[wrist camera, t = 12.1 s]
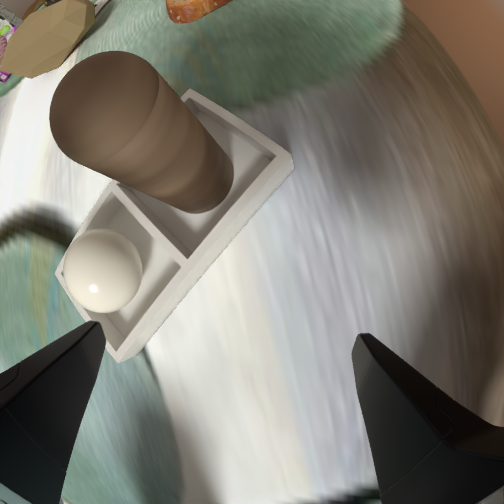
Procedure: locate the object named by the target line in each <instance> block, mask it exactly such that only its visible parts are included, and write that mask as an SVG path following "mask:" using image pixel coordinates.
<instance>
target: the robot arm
mask: <svg viewBox="0 0 504 504" xmlns="http://www.w3.org/2000/svg"><path fill="white" fill-rule="evenodd" d="M105 346H106V337H105V334H104V331H103V328H102V325H101V323H100V322H98V321H93V320H89V321H87V322H86V323H84V324H82V325H81V326H79V327H77V328H76V329H74V330H72V331H70V332H69V333H67V334H65V335H64V336H62V337H60V338H59V339H57V340H55V341H54V342H52V343H50V344H49V345H47V346H45V347H44V348H42V349H40V350H39V351H37V352H35V353H34V354H32V355H31V356H29V357H27V358H26V359H24V360H22V361H21V362H19V363H17V364H16V365H14V366H13V367H11V368H9V369H8V370H6V371H4V372H2V373H0V504H59V501H60V497H61V492H62V488H63V484H64V480H65V476H66V471H67V468H68V464H69V461H70V457H71V454H72V450H73V447H74V443H75V440H76V437H77V434H78V431H79V427H80V424H81V421H82V418H83V415H84V412H85V409H86V407H87V404H88V401H89V398H90V395H91V393H92V390H93V387H94V385H95V382H96V379H97V375H98V372H99V368H100V364H101V361H102V357H103V353H104V350H105ZM352 362H353V368H354V375H355V382H356V389H357V394H358V399H359V403H360V406H361V410H362V414H363V418H364V422H365V426H366V431H367V435H368V439H369V443H370V448H371V452H372V457H373V461H374V466H375V471H376V476H377V481H378V486H379V491H380V494H381V495H380V497H381V502H382V504H504V427H499V426H495V425H492V424H490V423H488V422H486V421H485V420H483V419H482V418H480V417H479V416H477V415H476V414H474V413H473V412H471V411H469V410H468V409H466V408H465V407H463V406H462V405H460V404H459V403H458V402H456V401H455V400H453V399H452V398H451V397H449V396H448V395H447V394H445V393H444V392H443V391H442V390H440V389H439V388H438V387H436V386H435V385H434V384H433V383H432V382H430V381H429V380H428V379H427V378H425V377H424V376H423V375H422V374H420V373H419V372H418V371H417V370H415V369H414V368H413V367H412V366H410V365H409V364H408V363H407V362H405V361H404V360H403V359H402V358H400V357H399V356H398V355H397V354H395V353H394V352H393V351H391V350H390V349H389V348H388V347H386V346H385V345H384V344H383V343H381V342H380V341H379V340H378V339H376V338H375V337H374V336H373V335H371V334H370V333H360V334H358V335H357V337H356V341H355V344H354V347H353V350H352Z"/></svg>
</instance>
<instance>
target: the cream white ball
mask: <svg viewBox="0 0 504 504" xmlns="http://www.w3.org/2000/svg"><path fill="white" fill-rule="evenodd" d="M63 275H64V280H65V284H66V287H67V289H68V291H69V293H70V294H71V296H72V297H73V299H74V300H75V301H76V302H77V303H78V304H80V305H81V306H82V307H84V308H86V309H88V310H90V311H93V312H98V313H110V312H114V311H117V310H119V309H121V308H123V307H125V306H126V305H127V304H128V303H129V302H131V301H132V299H133V298H134V297H135V295H136V294H137V292H138V290H139V288H140V285H141V281H142V262H141V258H140V255H139V253H138V251H137V249H136V247H135V246H134V244H133V243H132V242H131V241H130V240H129V239H128V238H127V237H126V236H125V235H123V234H121V233H120V232H118V231H115V230H112V229H106V228H98V229H93V230H89V231H87V232H85V233H83V234H82V235H80V236H79V237H78V238H77V239H76V240H74V242H73V243H72V244H71V246H70V247H69V249H68V251H67V253H66V256H65V259H64V265H63Z"/></svg>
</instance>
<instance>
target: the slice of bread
mask: <svg viewBox="0 0 504 504" xmlns="http://www.w3.org/2000/svg"><path fill="white" fill-rule="evenodd" d="M230 1H232V0H166V6H167V11H168V15H169V17H170V19H171V20H173V21H174V23H190V22H193V21H195V20H198V19H200V18H202V17H203V16H205V15H206V14H208V13H210V12H212V11H214V10H216V9H217V8H219V7H221V6H224V5H226V4H227V3H228V2H230Z"/></svg>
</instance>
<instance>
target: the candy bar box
mask: <svg viewBox="0 0 504 504" xmlns="http://www.w3.org/2000/svg"><path fill="white" fill-rule="evenodd" d="M23 22H24V21H22V20H21V19H20V18H18V17H17V16H16V15H14V14H13V13H12V12H10V11H9V10H8V9H6V8H5V7H4V6H2V5H1V4H0V67H1V63H2V60H3V56H4V53H5V50H6V46H7V43H8V40H9V38H10V37H11V36H12V34H13V33H14V32H15V31H16V30H17V28H18V27H19V26H20V25H21V24H22V23H23ZM10 75H11V73H6V72H2V71H0V81H1V82H3V83H4V82H5V81H6V80H7V79H8V77H9V76H10Z"/></svg>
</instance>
